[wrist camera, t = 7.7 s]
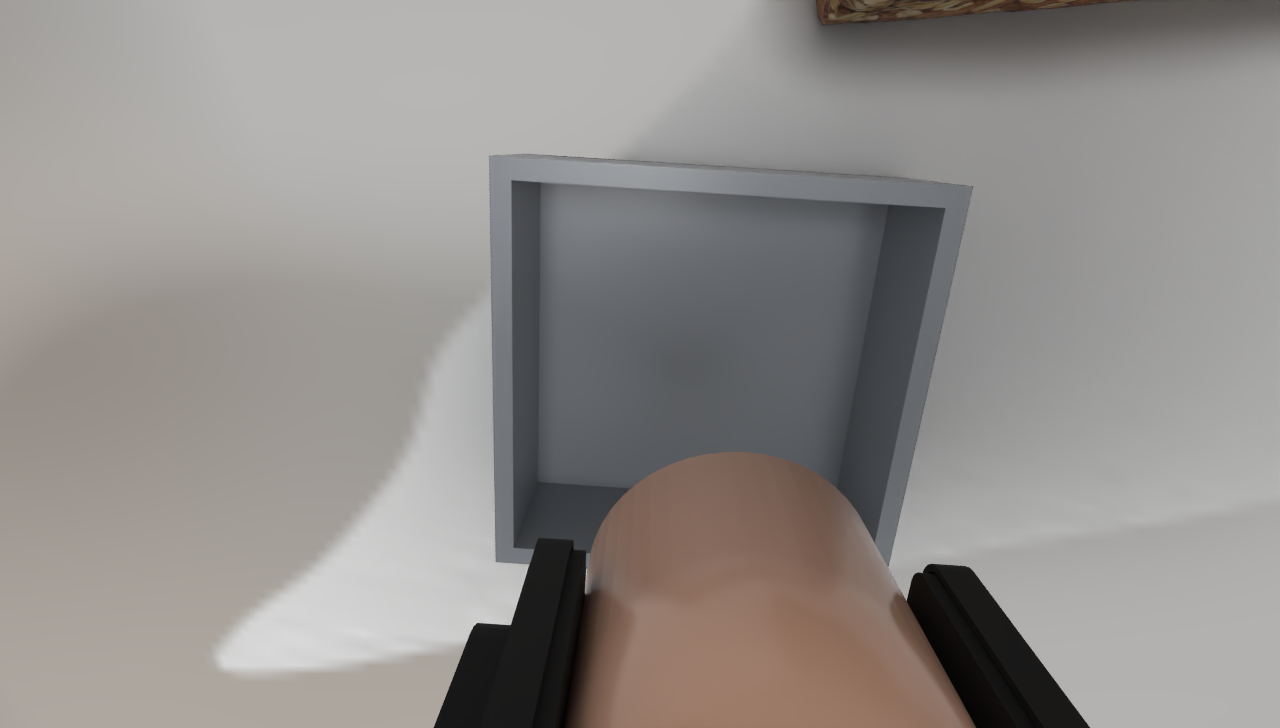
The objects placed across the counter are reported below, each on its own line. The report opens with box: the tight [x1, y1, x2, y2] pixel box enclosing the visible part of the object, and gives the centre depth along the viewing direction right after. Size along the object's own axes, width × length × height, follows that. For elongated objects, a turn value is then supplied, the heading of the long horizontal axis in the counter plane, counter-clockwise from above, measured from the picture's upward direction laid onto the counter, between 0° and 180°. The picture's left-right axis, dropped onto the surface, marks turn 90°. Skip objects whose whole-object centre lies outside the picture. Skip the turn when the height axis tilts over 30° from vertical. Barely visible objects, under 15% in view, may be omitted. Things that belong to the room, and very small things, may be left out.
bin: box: [489, 154, 973, 568], centre depth 21 cm, size 13×13×5 cm
